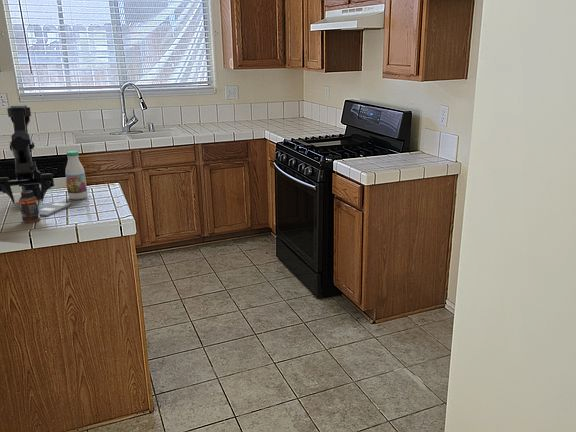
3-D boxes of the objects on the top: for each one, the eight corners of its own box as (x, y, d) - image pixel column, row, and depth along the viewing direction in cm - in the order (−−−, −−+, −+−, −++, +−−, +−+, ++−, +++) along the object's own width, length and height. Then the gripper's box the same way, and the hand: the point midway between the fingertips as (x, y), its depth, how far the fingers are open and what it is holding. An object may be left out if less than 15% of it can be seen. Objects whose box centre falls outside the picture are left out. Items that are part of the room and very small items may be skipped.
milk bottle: (68, 196, 222) (62, 150, 216) (87, 194, 225) (81, 149, 219) (68, 200, 215) (62, 153, 209) (88, 198, 218) (82, 152, 212)
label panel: (24, 214, 196) (23, 212, 196) (51, 203, 211) (51, 201, 211) (46, 216, 194) (46, 214, 194) (72, 205, 209) (72, 203, 208)
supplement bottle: (43, 219, 191) (39, 190, 188) (32, 224, 185) (27, 194, 182) (30, 218, 192) (25, 188, 189) (18, 222, 187) (13, 192, 183)
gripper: (-9, 155, 181) (-5, 193, 175) (49, 151, 188) (54, 187, 182) (-3, 173, 190) (0, 209, 184) (51, 168, 198) (56, 203, 191)
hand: (28, 201), depth 185 cm, fingers open, 9 cm apart
